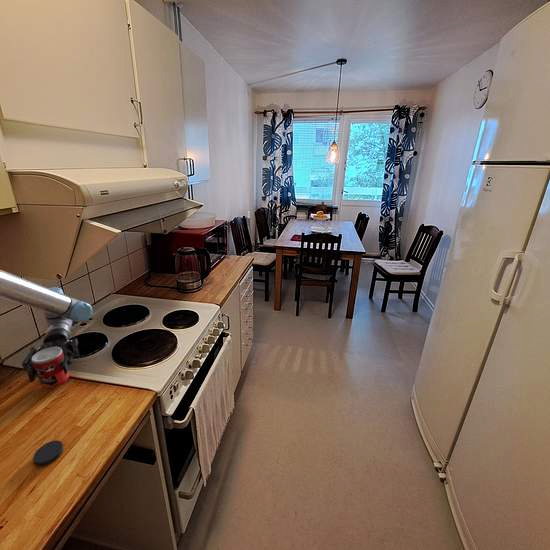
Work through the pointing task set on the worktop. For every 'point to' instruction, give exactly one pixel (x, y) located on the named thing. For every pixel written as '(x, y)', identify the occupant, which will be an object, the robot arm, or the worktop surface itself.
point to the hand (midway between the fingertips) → (48, 373)
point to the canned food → (50, 367)
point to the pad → (48, 453)
